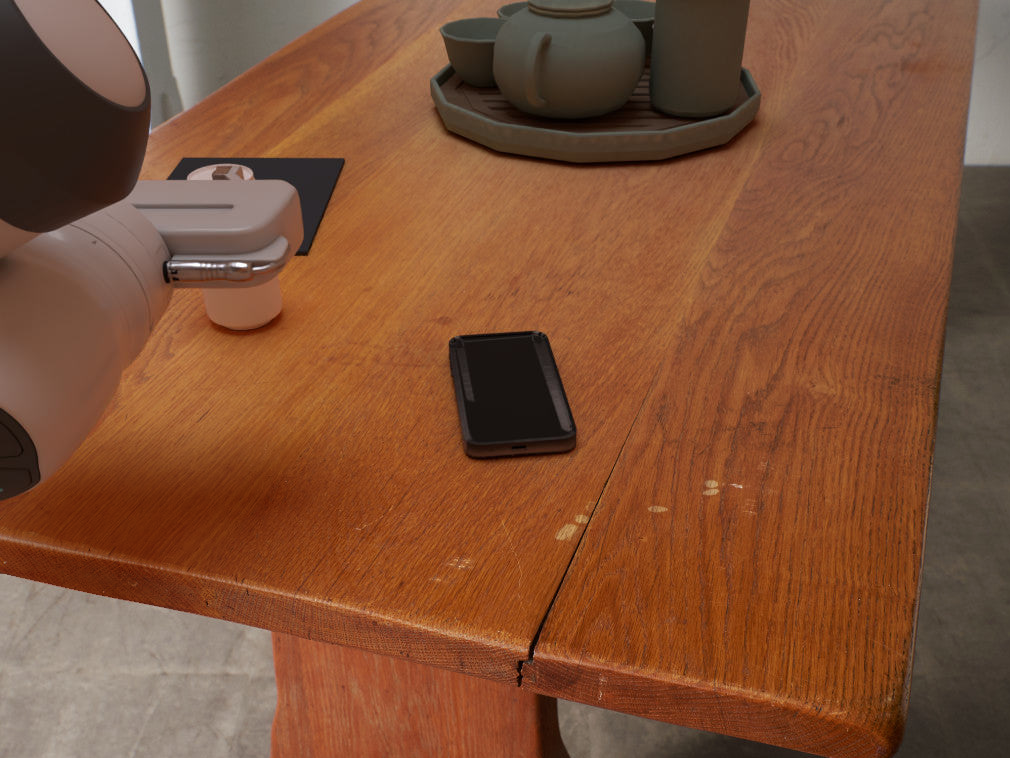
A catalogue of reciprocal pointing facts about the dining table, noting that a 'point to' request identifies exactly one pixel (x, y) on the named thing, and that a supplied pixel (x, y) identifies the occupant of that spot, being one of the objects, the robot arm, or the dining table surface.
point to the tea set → (599, 78)
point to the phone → (510, 395)
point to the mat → (302, 173)
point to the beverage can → (242, 303)
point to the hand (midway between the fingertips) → (158, 178)
